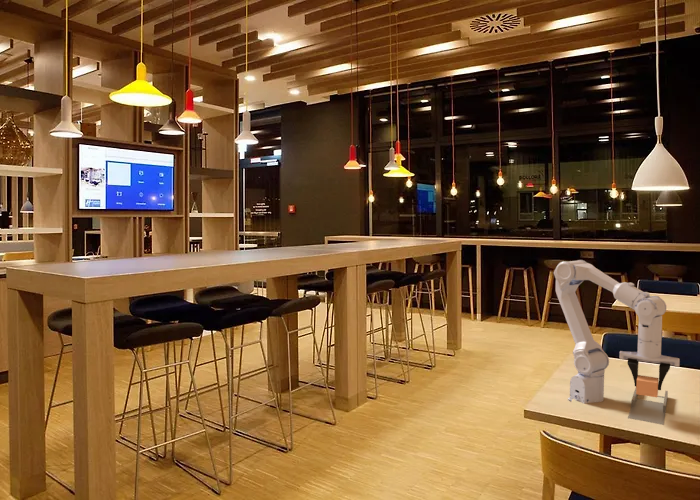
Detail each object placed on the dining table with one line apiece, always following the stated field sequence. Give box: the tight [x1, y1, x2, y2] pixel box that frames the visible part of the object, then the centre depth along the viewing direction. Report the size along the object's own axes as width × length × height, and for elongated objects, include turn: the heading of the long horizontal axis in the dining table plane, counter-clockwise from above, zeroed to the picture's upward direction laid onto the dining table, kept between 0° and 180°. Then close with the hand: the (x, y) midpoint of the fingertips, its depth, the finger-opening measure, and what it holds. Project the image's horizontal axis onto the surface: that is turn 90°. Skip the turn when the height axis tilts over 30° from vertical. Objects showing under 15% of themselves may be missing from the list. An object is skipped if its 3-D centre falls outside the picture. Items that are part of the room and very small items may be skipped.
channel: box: [627, 387, 669, 425], centre depth 153 cm, size 25×9×3 cm, turn 147°
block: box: [635, 374, 659, 398], centre depth 144 cm, size 5×5×4 cm
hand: (647, 387), depth 147 cm, fingers closed on block, 5 cm apart
